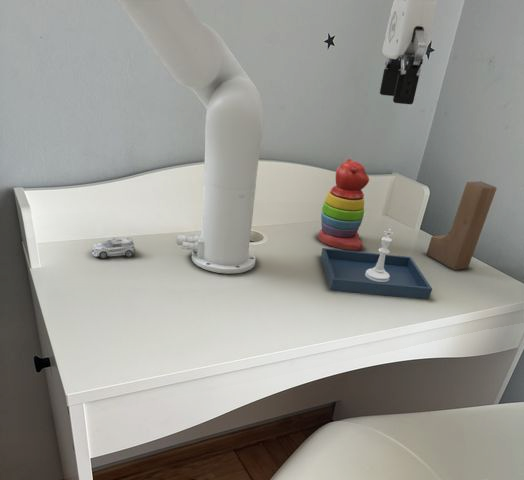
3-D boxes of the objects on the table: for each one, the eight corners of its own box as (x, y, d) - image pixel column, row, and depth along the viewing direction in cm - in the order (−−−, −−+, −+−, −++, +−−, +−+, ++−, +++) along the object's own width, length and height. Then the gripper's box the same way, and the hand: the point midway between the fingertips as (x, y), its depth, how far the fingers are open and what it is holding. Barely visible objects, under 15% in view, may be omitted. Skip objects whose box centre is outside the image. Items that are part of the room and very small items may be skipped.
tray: (330, 290, 97) (332, 279, 96) (320, 258, 110) (322, 247, 108) (428, 299, 99) (432, 288, 97) (408, 266, 111) (411, 256, 110)
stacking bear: (363, 252, 115) (382, 170, 106) (318, 247, 115) (334, 164, 105) (356, 235, 125) (373, 158, 115) (315, 230, 124) (328, 153, 114)
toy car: (90, 251, 99) (89, 236, 97) (132, 249, 102) (132, 235, 100) (93, 259, 96) (92, 244, 94) (136, 257, 99) (136, 242, 98)
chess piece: (389, 284, 102) (402, 235, 96) (364, 279, 102) (376, 230, 97) (389, 274, 106) (402, 227, 100) (365, 269, 106) (376, 222, 101)
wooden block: (425, 254, 119) (449, 175, 109) (439, 252, 121) (464, 174, 111) (454, 270, 113) (483, 188, 103) (468, 268, 115) (498, 187, 105)
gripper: (384, -25, 85) (363, 90, 94) (412, -33, 70) (385, 104, 79) (428, -20, 85) (403, 94, 94) (466, -27, 71) (432, 109, 80)
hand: (395, 99), depth 87 cm, fingers open, 9 cm apart
